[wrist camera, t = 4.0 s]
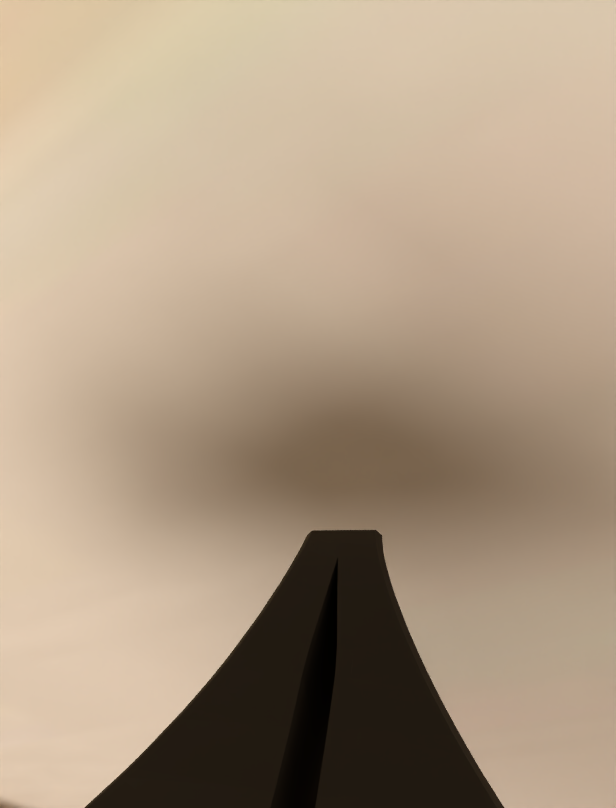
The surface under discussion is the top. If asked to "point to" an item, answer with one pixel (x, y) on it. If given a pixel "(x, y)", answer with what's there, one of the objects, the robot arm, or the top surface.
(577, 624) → the top surface
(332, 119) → the top surface
